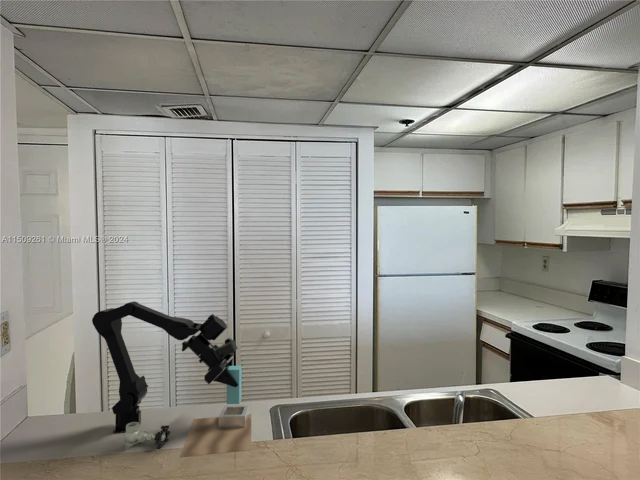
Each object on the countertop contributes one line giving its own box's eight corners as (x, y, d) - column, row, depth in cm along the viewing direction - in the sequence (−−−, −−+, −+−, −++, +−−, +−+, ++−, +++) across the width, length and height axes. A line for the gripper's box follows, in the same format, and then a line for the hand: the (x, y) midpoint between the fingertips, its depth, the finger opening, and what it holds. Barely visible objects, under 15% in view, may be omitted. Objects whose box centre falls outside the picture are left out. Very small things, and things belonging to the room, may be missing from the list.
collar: (218, 427, 115) (218, 416, 115) (224, 416, 124) (224, 405, 124) (244, 427, 116) (244, 416, 116) (248, 415, 124) (248, 405, 124)
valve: (118, 453, 104) (158, 455, 102) (118, 429, 104) (158, 431, 103) (132, 441, 110) (170, 443, 109) (132, 419, 110) (170, 420, 109)
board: (179, 461, 99) (179, 457, 99) (193, 422, 121) (193, 419, 122) (251, 454, 102) (251, 449, 102) (251, 417, 125) (251, 414, 125)
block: (226, 404, 118) (226, 369, 118) (229, 399, 122) (229, 365, 122) (239, 403, 118) (239, 369, 118) (241, 399, 122) (241, 365, 122)
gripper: (215, 339, 111) (251, 375, 111) (228, 326, 130) (259, 357, 130) (188, 365, 110) (225, 402, 111) (205, 349, 129) (237, 380, 129)
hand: (238, 383), depth 120 cm, fingers closed on block, 4 cm apart
